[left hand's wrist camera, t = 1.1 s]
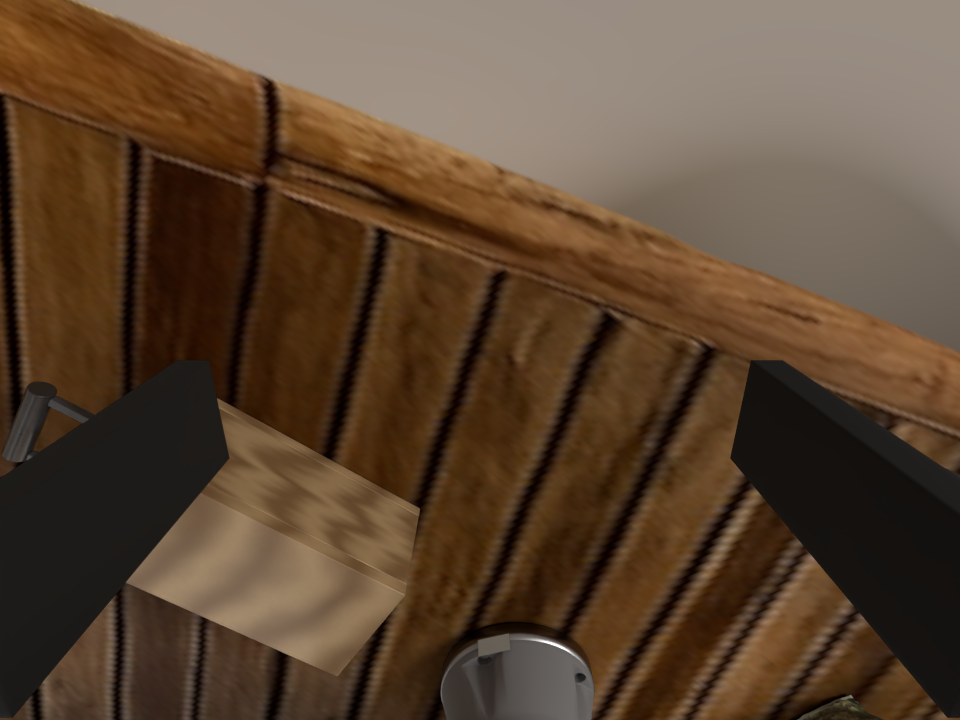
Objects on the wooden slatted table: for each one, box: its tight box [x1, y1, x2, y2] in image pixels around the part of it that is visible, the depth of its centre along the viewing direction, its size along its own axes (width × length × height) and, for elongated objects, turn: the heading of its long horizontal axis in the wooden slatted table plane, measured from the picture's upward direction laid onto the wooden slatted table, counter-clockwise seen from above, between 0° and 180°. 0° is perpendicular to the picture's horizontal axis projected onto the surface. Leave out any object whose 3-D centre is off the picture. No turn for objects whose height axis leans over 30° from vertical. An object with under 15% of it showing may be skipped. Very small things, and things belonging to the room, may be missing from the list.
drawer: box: [2, 382, 95, 462], centre depth 38 cm, size 26×9×8 cm, turn 56°
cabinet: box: [126, 398, 420, 676], centre depth 39 cm, size 21×10×9 cm, turn 56°
